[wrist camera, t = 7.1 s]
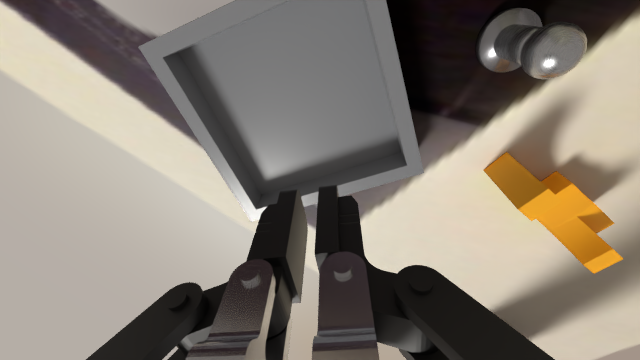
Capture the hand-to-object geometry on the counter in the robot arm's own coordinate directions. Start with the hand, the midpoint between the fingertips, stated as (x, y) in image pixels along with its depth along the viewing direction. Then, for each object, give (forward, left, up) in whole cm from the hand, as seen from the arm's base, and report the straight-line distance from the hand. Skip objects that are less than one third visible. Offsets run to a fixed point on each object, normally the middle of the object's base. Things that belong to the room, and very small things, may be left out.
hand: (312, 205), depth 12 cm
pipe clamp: (-16, -17, -16) cm, 29 cm away
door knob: (-1, -15, -16) cm, 22 cm away
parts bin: (0, +2, -16) cm, 16 cm away
